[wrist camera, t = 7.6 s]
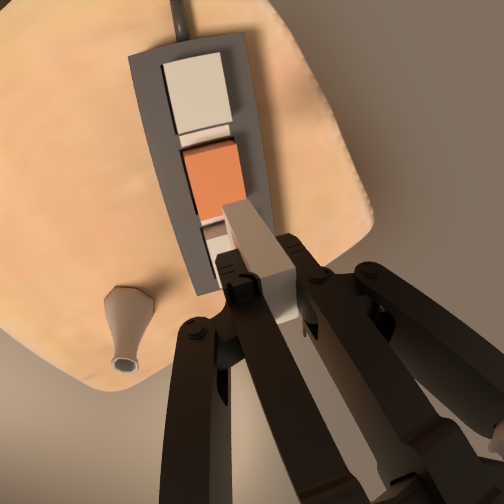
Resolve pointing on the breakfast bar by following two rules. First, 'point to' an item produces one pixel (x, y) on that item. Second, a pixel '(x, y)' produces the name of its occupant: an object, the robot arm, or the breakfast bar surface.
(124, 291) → the flask
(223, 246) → the switch
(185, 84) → the switch
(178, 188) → the power strip
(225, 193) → the switch
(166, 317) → the breakfast bar surface
